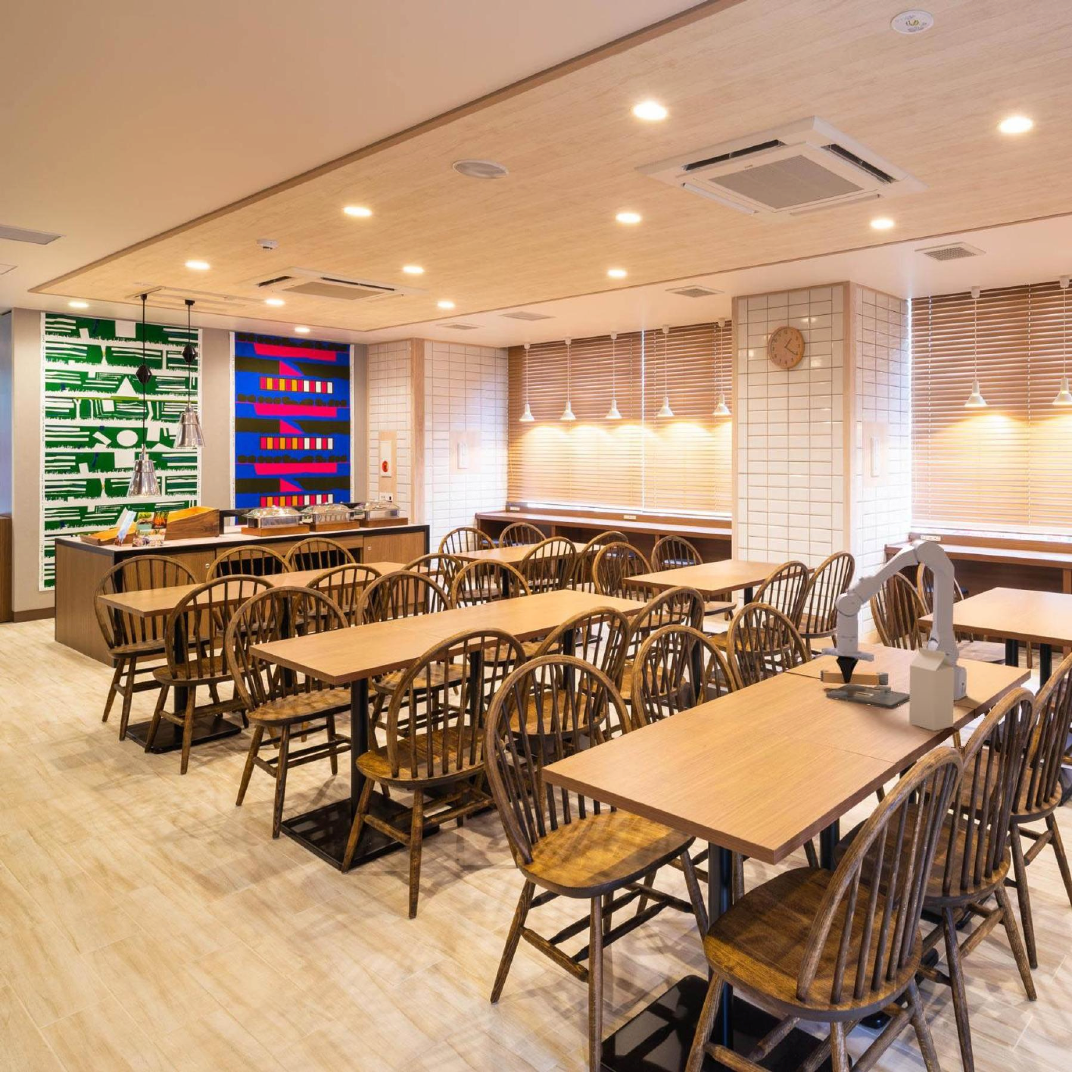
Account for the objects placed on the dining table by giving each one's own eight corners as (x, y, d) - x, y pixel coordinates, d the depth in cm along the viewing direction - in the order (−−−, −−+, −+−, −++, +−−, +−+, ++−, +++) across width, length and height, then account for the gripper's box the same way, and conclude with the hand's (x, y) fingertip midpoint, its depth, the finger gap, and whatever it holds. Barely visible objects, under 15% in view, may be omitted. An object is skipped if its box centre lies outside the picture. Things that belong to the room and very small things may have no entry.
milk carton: (934, 731, 200) (935, 654, 199) (908, 724, 207) (910, 649, 205) (953, 726, 204) (954, 651, 202) (927, 719, 210) (929, 645, 208)
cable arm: (887, 682, 238) (887, 672, 238) (888, 686, 235) (889, 675, 234) (820, 679, 244) (820, 669, 244) (820, 682, 240) (820, 672, 240)
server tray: (916, 695, 232) (916, 689, 232) (890, 708, 220) (890, 703, 220) (854, 684, 245) (854, 679, 245) (826, 696, 232) (826, 691, 232)
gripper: (816, 634, 238) (816, 681, 239) (866, 641, 227) (866, 689, 228) (828, 631, 243) (827, 676, 244) (877, 637, 232) (876, 684, 233)
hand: (847, 682), depth 236 cm, fingers closed
